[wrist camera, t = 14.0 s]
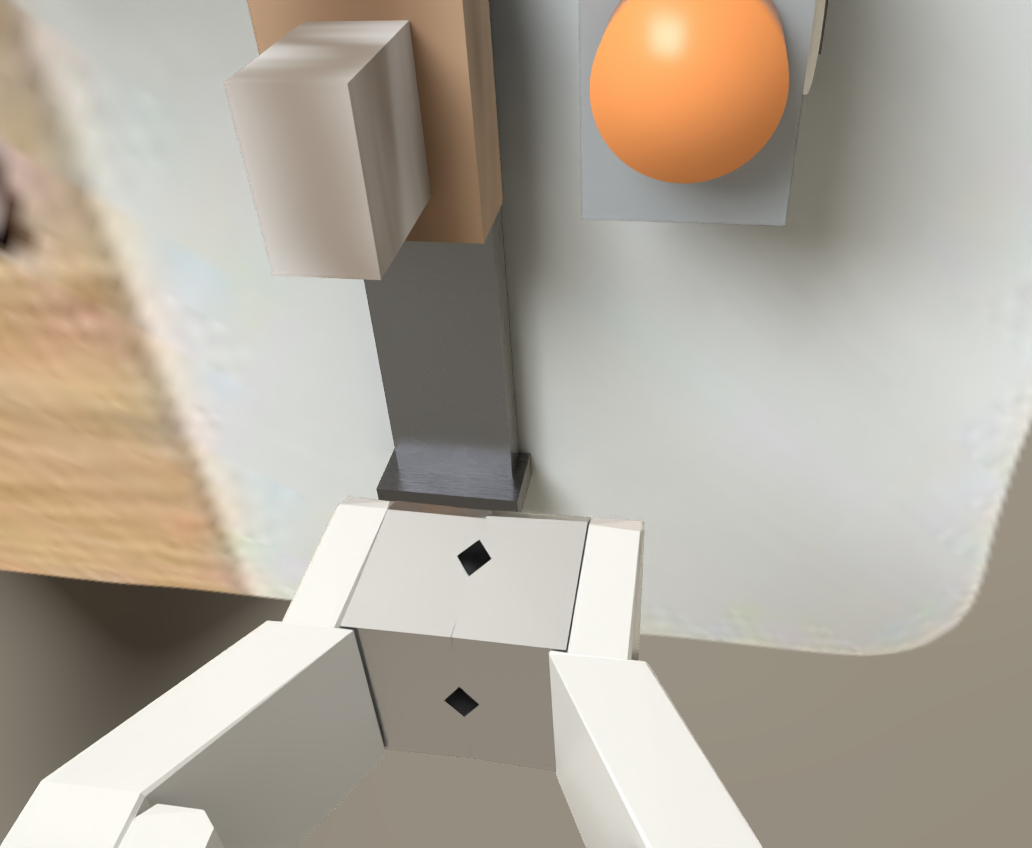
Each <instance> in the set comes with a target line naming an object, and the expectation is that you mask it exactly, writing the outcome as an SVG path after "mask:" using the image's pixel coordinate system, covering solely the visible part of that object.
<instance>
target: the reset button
mask: <svg viewBox="0 0 1032 848" xmlns="http://www.w3.org/2000/svg"><path fill="white" fill-rule="evenodd" d="M788 91H789V68H788V59H787V51H786V43H785V36H784V31H783V26H782V22H781V19H780V17H779V14H778V11H777V9H776V7H775V5H774V4H773V2H772V0H621V1H620V2H619V4H618V5H617V7H616V9H615V10H614V12H613V14H612V16H611V18H610V20H609V22H608V24H607V27H606V29H605V32H604V35H603V37H602V40H601V42H600V45H599V48H598V50H597V53H596V56H595V59H594V62H593V66H592V71H591V76H590V103H591V108H592V113H593V117H594V120H595V123H596V125H597V128H598V130H599V132H600V134H601V136H602V138H603V139H604V141H605V142H606V144H607V145H608V147H609V148H610V149H611V150H612V151H613V152H614V154H615V155H616V156H617V157H618V158H619V159H621V160H622V161H623V162H624V163H625V164H626V165H628V166H629V167H631V168H632V169H634V170H635V171H637V172H639V173H641V174H643V175H645V176H648V177H651V178H653V179H656V180H660V181H665V182H670V183H681V184H682V183H697V182H704V181H708V180H712V179H715V178H718V177H721V176H723V175H726V174H728V173H730V172H732V171H734V170H736V169H737V168H739V167H741V166H742V165H743V164H745V163H746V162H748V161H749V160H750V159H752V158H753V157H754V156H755V155H756V154H757V153H758V152H759V151H760V150H761V149H762V148H763V146H764V145H765V144H766V143H767V142H768V140H769V139H770V138H771V136H772V134H773V133H774V131H775V130H776V128H777V126H778V124H779V122H780V120H781V118H782V115H783V112H784V109H785V106H786V102H787V96H788Z"/></svg>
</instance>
